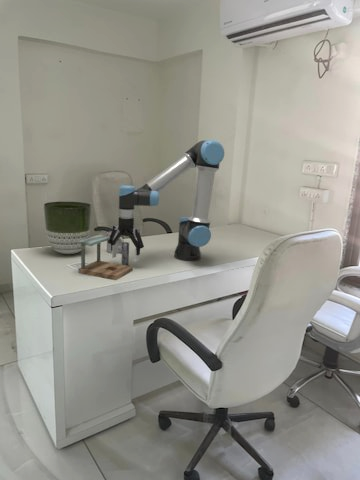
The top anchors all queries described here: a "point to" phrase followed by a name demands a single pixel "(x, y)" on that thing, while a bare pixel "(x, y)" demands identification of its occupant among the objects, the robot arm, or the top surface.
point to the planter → (67, 225)
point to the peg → (125, 253)
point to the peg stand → (98, 266)
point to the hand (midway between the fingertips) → (125, 259)
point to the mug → (118, 243)
